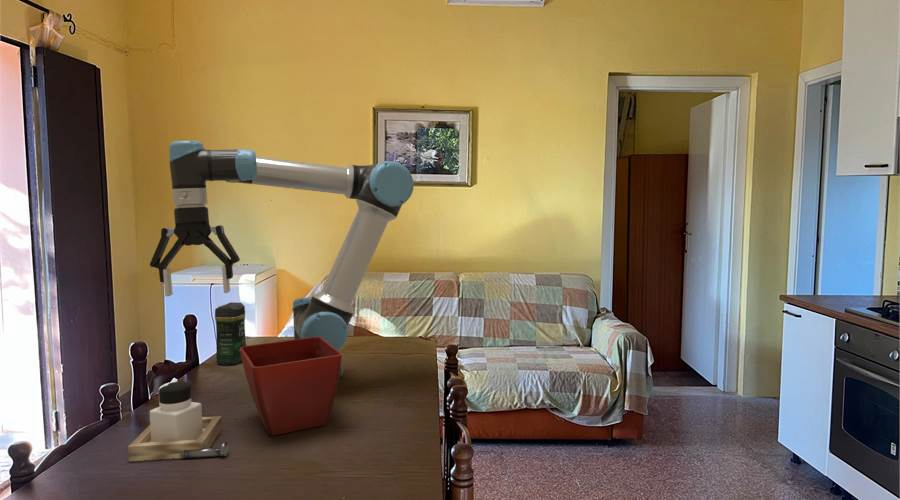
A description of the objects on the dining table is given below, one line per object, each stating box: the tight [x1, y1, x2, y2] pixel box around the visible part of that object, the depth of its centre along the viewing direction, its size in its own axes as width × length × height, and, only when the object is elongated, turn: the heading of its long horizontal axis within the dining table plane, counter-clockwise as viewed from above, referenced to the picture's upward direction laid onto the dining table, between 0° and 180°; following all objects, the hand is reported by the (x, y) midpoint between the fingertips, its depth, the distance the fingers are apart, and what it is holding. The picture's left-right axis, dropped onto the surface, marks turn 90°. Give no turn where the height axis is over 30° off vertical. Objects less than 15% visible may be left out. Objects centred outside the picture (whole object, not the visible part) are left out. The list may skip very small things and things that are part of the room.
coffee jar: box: [214, 301, 247, 366], centre depth 183 cm, size 10×8×19 cm
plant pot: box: [240, 337, 343, 437], centre depth 133 cm, size 19×19×17 cm
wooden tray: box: [127, 415, 223, 462], centre depth 122 cm, size 14×14×3 cm
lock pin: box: [180, 441, 229, 459], centre depth 116 cm, size 9×3×3 cm, turn 97°
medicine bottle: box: [149, 380, 203, 442], centre depth 121 cm, size 7×7×12 cm
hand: (198, 294), depth 142 cm, fingers open, 13 cm apart
